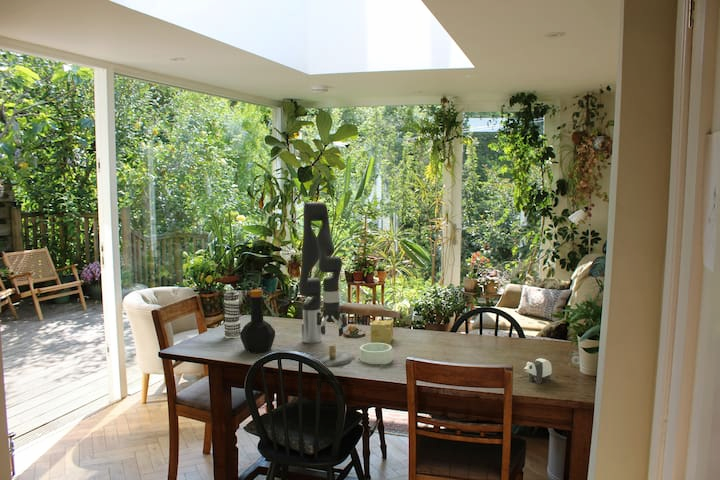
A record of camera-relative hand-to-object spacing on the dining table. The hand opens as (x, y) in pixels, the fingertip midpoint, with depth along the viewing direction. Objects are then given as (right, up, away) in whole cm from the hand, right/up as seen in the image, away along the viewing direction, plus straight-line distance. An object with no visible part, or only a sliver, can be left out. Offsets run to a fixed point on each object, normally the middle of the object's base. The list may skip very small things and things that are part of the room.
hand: (332, 335), depth 261 cm
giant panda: (+85, -15, -28) cm, 91 cm away
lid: (0, -12, +1) cm, 12 cm away
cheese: (+24, -9, +34) cm, 42 cm away
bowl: (+20, -12, +3) cm, 24 cm away
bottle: (-38, -11, +22) cm, 45 cm away
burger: (+10, -8, +46) cm, 48 cm away
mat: (0, -13, +2) cm, 13 cm away
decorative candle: (-56, -9, +47) cm, 73 cm away
